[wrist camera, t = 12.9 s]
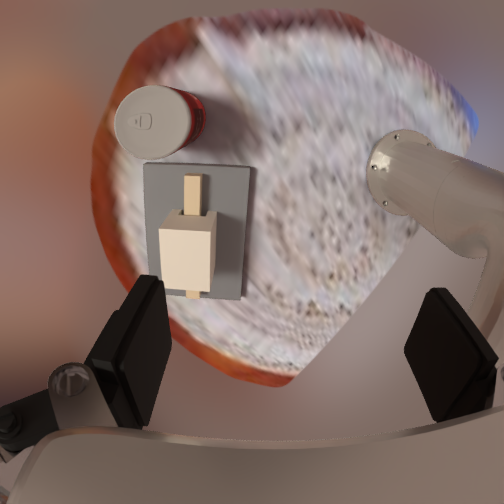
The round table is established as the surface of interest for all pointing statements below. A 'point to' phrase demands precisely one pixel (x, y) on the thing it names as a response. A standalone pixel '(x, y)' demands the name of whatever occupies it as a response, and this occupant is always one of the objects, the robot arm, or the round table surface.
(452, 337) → the robot arm
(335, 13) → the round table surface
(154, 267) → the mount board
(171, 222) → the cabinet block
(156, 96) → the canned food
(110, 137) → the round table surface
